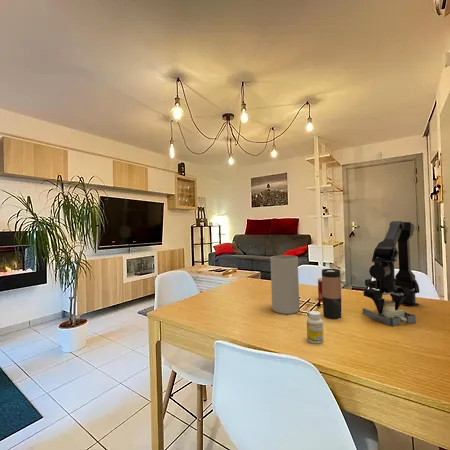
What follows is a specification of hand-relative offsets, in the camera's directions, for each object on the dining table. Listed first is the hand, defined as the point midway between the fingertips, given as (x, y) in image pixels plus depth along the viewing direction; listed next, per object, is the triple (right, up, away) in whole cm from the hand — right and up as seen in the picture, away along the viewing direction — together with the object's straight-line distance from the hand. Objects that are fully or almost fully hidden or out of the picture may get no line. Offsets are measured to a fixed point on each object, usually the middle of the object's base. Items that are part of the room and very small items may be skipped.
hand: (387, 312), depth 108 cm
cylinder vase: (-39, -4, +14) cm, 42 cm away
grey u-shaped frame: (0, -2, 0) cm, 2 cm away
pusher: (+1, -2, -5) cm, 6 cm away
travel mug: (-21, -3, +4) cm, 22 cm away
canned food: (-15, -3, +27) cm, 31 cm away
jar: (0, -2, 0) cm, 2 cm away
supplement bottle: (-37, -4, -18) cm, 41 cm away
